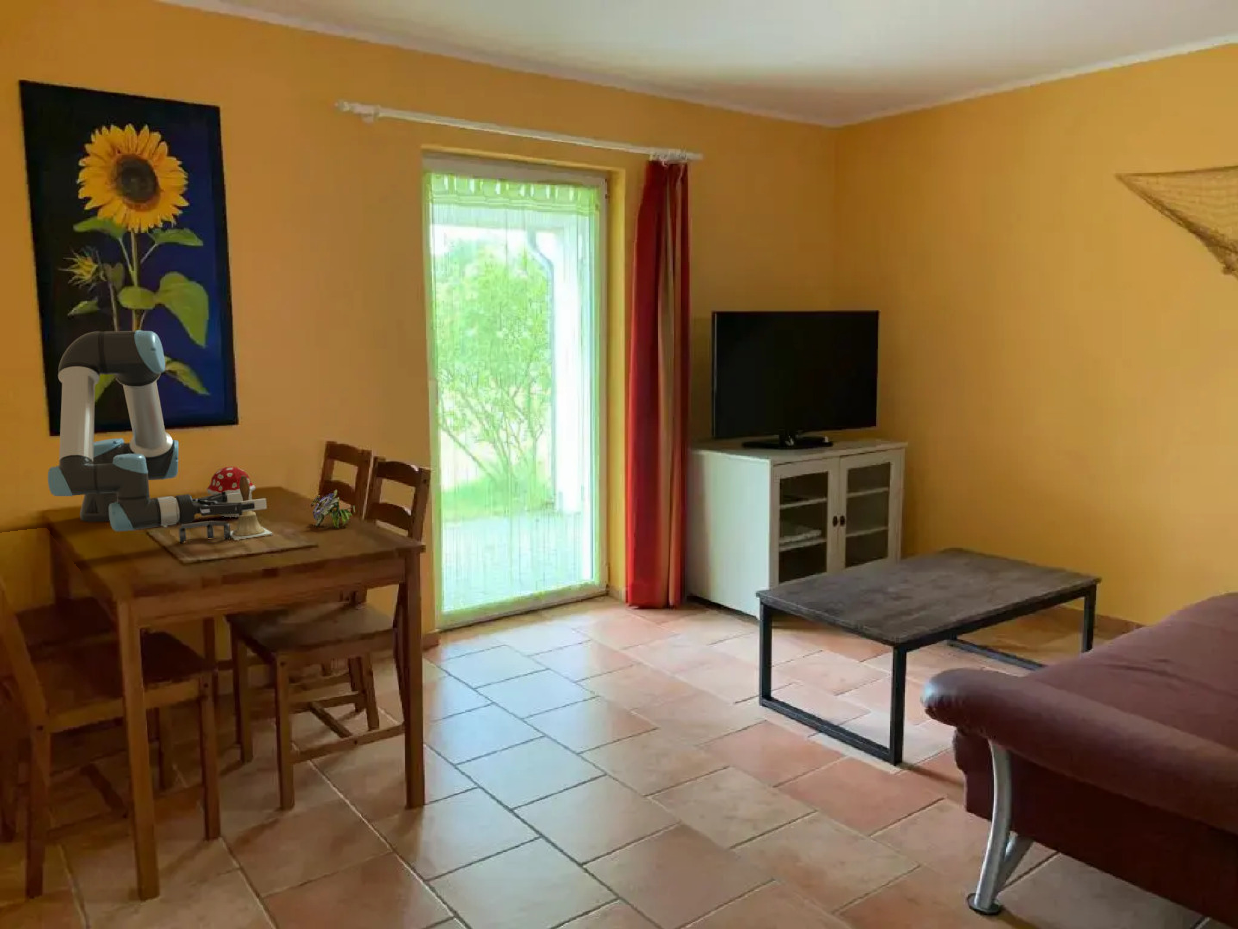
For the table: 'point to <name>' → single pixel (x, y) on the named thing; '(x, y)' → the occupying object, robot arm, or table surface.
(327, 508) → the passion flower
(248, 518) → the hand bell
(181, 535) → the gray stand
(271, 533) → the pad
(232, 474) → the decorative mushroom
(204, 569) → the table surface
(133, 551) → the table surface
